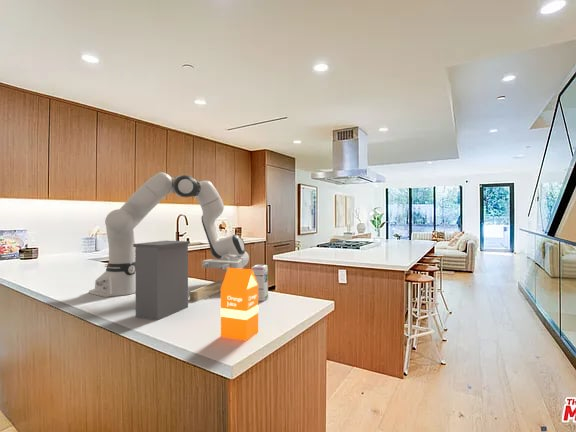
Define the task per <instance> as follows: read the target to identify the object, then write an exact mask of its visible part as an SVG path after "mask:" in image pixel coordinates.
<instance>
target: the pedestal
mask: <svg viewBox="0 0 576 432" xmlns="http://www.w3.org/2000/svg"><path fill="white" fill-rule="evenodd" d="M189 245H191V241H190V240H189V241H188V240H187V241H186V240H157V241H150V242H141V243H135V244H133V247H135V269H136V293H135V318H139V319H141V318H142V319H148V320H154V321H159V320H161V319H164V318H167V317H169V316H172V315H174V314H175V313H178V312H179V313H180V311H183V310H185V309H187V308H189Z"/></svg>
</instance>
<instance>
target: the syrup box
mask: <svg viewBox="0 0 576 432" xmlns="http://www.w3.org/2000/svg"><path fill="white" fill-rule="evenodd" d="M250 269H252V270H253V273H254V275H255V278H256V281H257V283H258V302H265V301H266V300H268V298H269V277H268V275H269V273H268V271H269V269H268V264H255V265H253V266H251V268H250Z"/></svg>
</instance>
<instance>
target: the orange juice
mask: <svg viewBox="0 0 576 432" xmlns="http://www.w3.org/2000/svg"><path fill="white" fill-rule="evenodd" d="M222 281H223V284H222V287H221V291H220V337H221V338H222V337H223V338H228V339H233V340H241V341H246V342H247V341H248V340H249V339H250V338H253V336H255V335H256V334H258V333H259V301H258V283H257V281H256V278H255V275H254V273H253V270H252V269H251V268H243V269H239V268H228V269H227V272H226V271H225V275H224V279H223V280H222Z"/></svg>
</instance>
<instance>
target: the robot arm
mask: <svg viewBox="0 0 576 432" xmlns="http://www.w3.org/2000/svg"><path fill="white" fill-rule="evenodd" d="M171 193H172V194H173V193H174V194H175V195H176V196H178V197H180V198H190V197H191V198H192V197H194V198H195V199H196V200H197V201H198V204H199V205H200V208H201V211H202V216H201V217H200V218H201V224H202V227H203V231H204V233H205V236H206V238H207V241H208V245H209V249H210V253H211V255H212V256H213V258H209V259H204V260H201V261H202V262H201V263H202V264H201V265H202V269H203V268H204V269H216V270H217V269H219V270H222V271H224V272H225V273H226V272H227V269H228V268H239V269H245V268H244V267H245V266H247V265H248V263H249V260H250V255H249V253H248V252H247V251H246V244H245V242H244V239H243V238H242V237H241V236H239V235H237V234H232V235H229V236H227V237H224V238H221V239H220V238H218V234H217V231H216V228H215V221H216V220H217V219H218V218H219V217H220V216H221V215H222V214H223V211H224V209H225V204H224V202H223V199H222V197H221V196H220V194H219V191H218V190H217V188H216V187H215V186H214V184H213V183H212V182H211V181H209V180H201V181H198V180H196V179H195V178H194V177H192V176H190V175H187V174H181V175H178V176H175V177H172V176H170V174H168V173H166V172H162V171H160V172H158V173H155V174H154V175H153V176H151V177H150V178H149V179H147V180H146V181H145V182H144V183H143V184H142V185H141V186H139V188H137V189H136V190H135V191H134V192H133V193H132V194H131V195H130V196H129V198H128V199H127V200H126V202H125V203H124V204H123V205H122V206H121V207H120V208H118V209H114V210H112V211H110V212H109V213H108V214H107V215H106V217H105V218H104V219H105V220H104V223H105V224H104V225H105V229H106V236H107V243H108V263H105V264H104V268H106V269H105V271H104V272H103V273H102V274H101V275H100V276H99V277H97V278H96V280H95V281H94V288H93V289H90V290H89V291H88V294H92V295H95V296H98V297H99V296H100V297H103V298H106V297H107V298H108V297H115V296H116V297H117V296H118V297H119V296H126V295H132V294H136V269H135V247H133V244H136V243H135V234H134V233H135V232H134V229H135V228H136V227H137V226H138V225H139V224H140V223H141V222H142V221H143V220H144V218H146V216H147V215H148V214H149V213H150V212H151V211H152V210H153V209H154V208H155V207H156V206H157V205H158V204H159V203H160V202H161V201H162V200H163V199H164V198H165V197H166V196H168V195H169V194H171Z"/></svg>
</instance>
